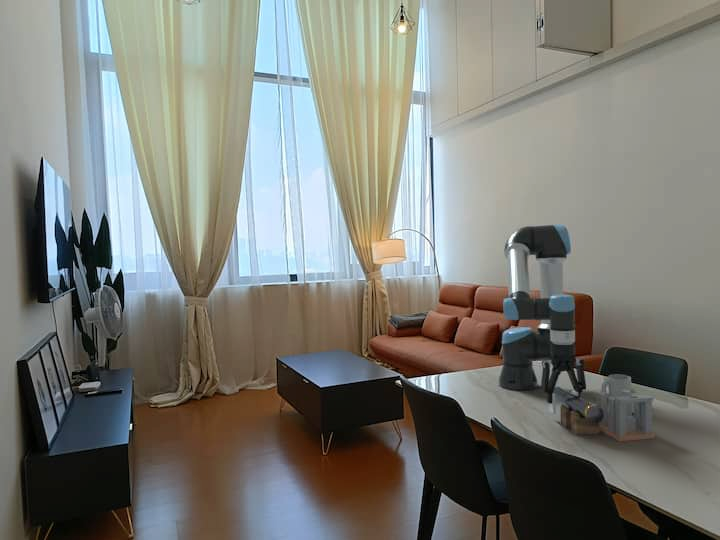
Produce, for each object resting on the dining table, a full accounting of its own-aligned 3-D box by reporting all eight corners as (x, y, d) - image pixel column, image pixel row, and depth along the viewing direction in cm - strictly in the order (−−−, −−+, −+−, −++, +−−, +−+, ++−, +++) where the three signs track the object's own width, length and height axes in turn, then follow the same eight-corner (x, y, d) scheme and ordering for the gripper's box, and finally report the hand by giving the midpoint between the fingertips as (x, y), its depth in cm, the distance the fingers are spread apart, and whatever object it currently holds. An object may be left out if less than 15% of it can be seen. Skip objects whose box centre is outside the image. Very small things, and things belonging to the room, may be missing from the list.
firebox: (582, 419, 163) (581, 382, 162) (613, 416, 164) (613, 380, 164) (619, 441, 144) (619, 400, 144) (654, 438, 145) (654, 397, 145)
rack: (560, 424, 159) (560, 404, 158) (582, 422, 160) (582, 403, 159) (576, 435, 150) (576, 414, 150) (599, 433, 151) (599, 412, 150)
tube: (550, 400, 167) (550, 387, 167) (563, 399, 168) (563, 386, 168) (589, 423, 145) (588, 407, 145) (604, 422, 146) (603, 406, 146)
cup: (635, 404, 175) (634, 379, 175) (605, 404, 176) (605, 379, 176) (626, 398, 183) (625, 374, 182) (597, 398, 184) (597, 374, 183)
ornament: (646, 416, 164) (646, 385, 163) (622, 416, 165) (622, 386, 164) (638, 410, 170) (637, 380, 169) (615, 410, 171) (614, 381, 170)
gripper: (539, 346, 158) (540, 418, 159) (598, 342, 160) (599, 413, 161) (528, 342, 165) (529, 410, 166) (584, 338, 168) (585, 406, 169)
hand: (563, 411), depth 164 cm, fingers open, 7 cm apart
